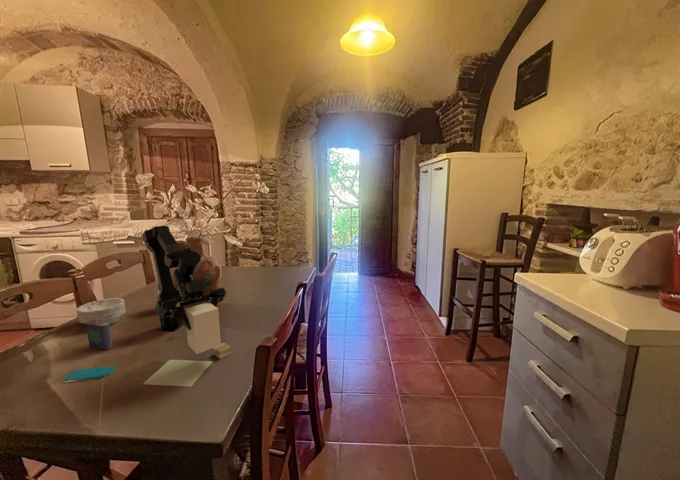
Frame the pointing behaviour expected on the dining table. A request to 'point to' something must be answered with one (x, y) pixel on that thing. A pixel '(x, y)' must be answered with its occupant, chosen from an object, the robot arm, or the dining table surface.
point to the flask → (99, 334)
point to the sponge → (89, 373)
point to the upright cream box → (203, 327)
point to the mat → (178, 373)
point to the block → (222, 350)
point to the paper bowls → (102, 310)
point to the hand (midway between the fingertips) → (203, 325)
